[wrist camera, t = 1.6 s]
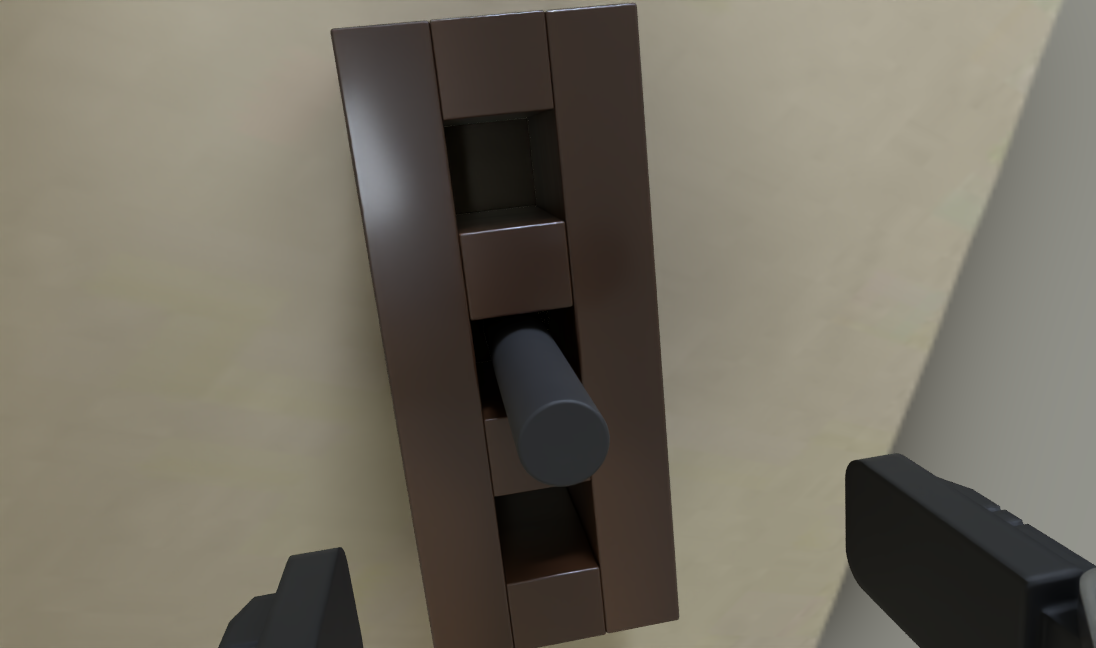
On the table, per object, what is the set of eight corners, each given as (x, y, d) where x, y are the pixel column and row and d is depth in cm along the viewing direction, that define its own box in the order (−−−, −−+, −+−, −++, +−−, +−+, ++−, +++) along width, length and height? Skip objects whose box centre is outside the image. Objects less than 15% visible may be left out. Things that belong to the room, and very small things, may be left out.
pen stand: (436, 564, 29) (437, 668, 23) (353, 57, 24) (329, 28, 18) (632, 529, 30) (680, 620, 24) (590, 35, 25) (637, 1, 19)
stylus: (477, 295, 27) (512, 407, 15) (531, 288, 27) (606, 393, 15) (484, 347, 27) (523, 495, 16) (537, 340, 27) (614, 480, 16)
